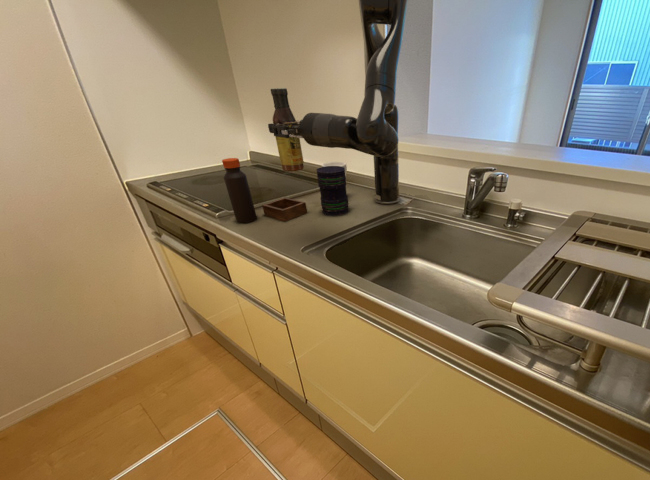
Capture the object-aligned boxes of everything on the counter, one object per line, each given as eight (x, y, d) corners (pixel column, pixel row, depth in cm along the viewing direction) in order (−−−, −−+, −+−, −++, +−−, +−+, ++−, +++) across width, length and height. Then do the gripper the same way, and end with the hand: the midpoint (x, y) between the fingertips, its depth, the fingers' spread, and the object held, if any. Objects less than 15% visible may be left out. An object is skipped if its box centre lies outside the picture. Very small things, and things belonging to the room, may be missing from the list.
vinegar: (260, 219, 119) (245, 159, 108) (241, 224, 115) (223, 162, 104) (251, 215, 123) (236, 156, 112) (233, 220, 119) (215, 159, 108)
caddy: (287, 207, 130) (285, 197, 128) (307, 212, 125) (305, 202, 123) (264, 215, 123) (262, 205, 121) (285, 221, 118) (282, 210, 115)
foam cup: (330, 193, 144) (326, 161, 136) (351, 194, 143) (348, 161, 135) (323, 200, 136) (318, 166, 129) (345, 201, 135) (342, 167, 128)
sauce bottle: (299, 172, 94) (282, 88, 83) (278, 172, 95) (259, 89, 84) (308, 167, 99) (294, 87, 88) (289, 166, 101) (272, 87, 89)
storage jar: (348, 215, 122) (344, 172, 113) (320, 216, 121) (314, 173, 113) (349, 206, 130) (345, 165, 122) (323, 207, 129) (318, 166, 121)
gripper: (342, 110, 87) (297, 108, 95) (300, 116, 77) (253, 113, 85) (345, 142, 91) (302, 137, 99) (305, 151, 82) (261, 145, 90)
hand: (280, 126), depth 92 cm, fingers closed on sauce bottle, 6 cm apart
